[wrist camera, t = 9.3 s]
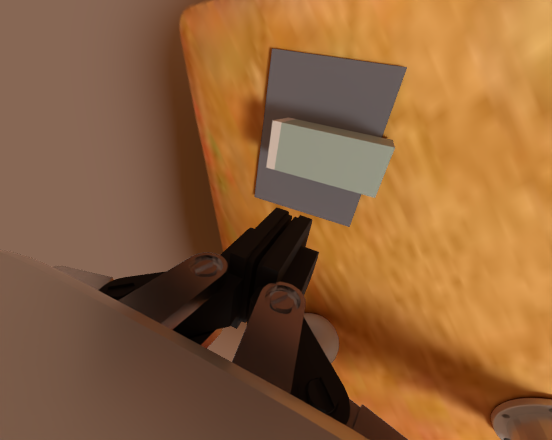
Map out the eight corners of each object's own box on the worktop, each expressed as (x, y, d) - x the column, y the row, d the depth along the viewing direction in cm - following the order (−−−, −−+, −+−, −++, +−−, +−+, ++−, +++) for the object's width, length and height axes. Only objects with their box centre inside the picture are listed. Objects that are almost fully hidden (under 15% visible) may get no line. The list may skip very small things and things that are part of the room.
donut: (288, 319, 44) (266, 369, 36) (285, 304, 43) (262, 354, 35) (343, 328, 40) (334, 388, 32) (342, 313, 39) (332, 371, 31)
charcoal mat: (406, 68, 23) (406, 67, 23) (349, 225, 32) (349, 226, 32) (273, 49, 27) (272, 48, 26) (256, 195, 36) (254, 196, 35)
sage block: (394, 147, 21) (272, 120, 24) (375, 197, 24) (266, 167, 27) (392, 140, 26) (288, 117, 29) (375, 183, 28) (281, 158, 31)
